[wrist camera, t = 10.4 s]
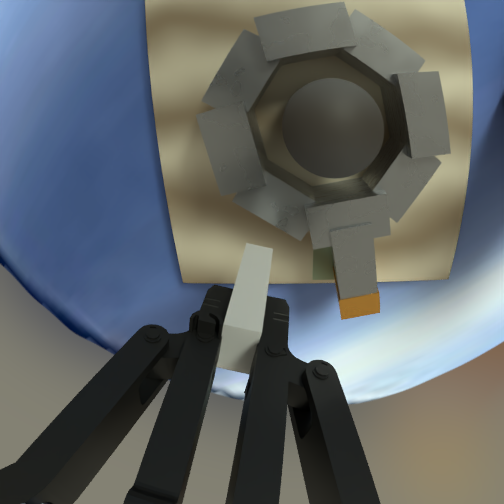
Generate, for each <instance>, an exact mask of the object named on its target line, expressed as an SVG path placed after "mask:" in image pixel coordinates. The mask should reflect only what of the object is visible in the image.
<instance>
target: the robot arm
mask: <svg viewBox="0 0 504 504" xmlns="http://www.w3.org/2000/svg"><path fill="white" fill-rule="evenodd" d="M272 253H273V249H272V248H267V247H262V246H258V245H253V244H249V243H246V246H245V250H244V253H243V257H242V260H241V264H240V267H239V271H238V274H237V278H236V281H235V285H234V288H233V289H231V288H226V287H222V286H218V285H213V286H212V287H211V288H210V289H209V290H208V291H207V293H206V296H205V299H204V301H203V304H202V306H201V309H200V311H197V312H195V313H193V314H192V316H191V317H190V324H189V331H187V332H184V333H179V334H168V332H167V330H166V329H164V328H163V327H162V326H159V325H146V326H143V327H142V328H140V329H139V330H138V331H137V332H136V333H135V334H134V335H133V336H132V337H131V338H130V339H129V340H128V341H127V343H126V344H125V345H124V346H123V347H122V348H121V349H120V350H119V351H118V352H117V353H116V354H115V355H114V356H113V357H112V358H111V359H110V360H109V361H108V362H107V363H106V365H105V366H104V367H103V368H102V369H101V370H100V371H99V372H98V373H97V374H96V375H95V376H94V377H93V378H92V379H91V380H90V381H89V382H88V384H87V385H86V386H85V387H84V388H83V389H82V390H81V391H80V392H79V393H78V394H77V395H76V396H75V397H74V399H73V400H72V401H71V402H70V403H69V404H68V405H67V406H66V407H65V408H64V409H63V410H62V412H61V413H60V414H59V415H58V416H57V417H56V418H55V419H54V420H53V421H52V423H50V425H49V426H48V427H47V428H46V429H45V430H44V431H43V432H42V433H41V435H40V436H39V437H38V438H37V439H36V440H35V441H34V442H33V443H32V445H31V446H30V447H29V448H28V449H27V450H26V451H25V452H24V454H23V455H22V456H21V457H20V458H19V459H18V461H16V463H13V464H11V465H9V466H7V467H5V468H3V469H1V470H0V504H73V503H74V502H75V501H76V500H77V499H78V497H79V496H80V495H81V493H82V492H83V491H84V490H85V488H86V487H87V486H88V485H89V483H90V482H91V481H92V479H93V478H94V477H95V475H96V474H97V473H98V472H99V470H100V469H101V468H102V466H103V465H104V464H105V462H106V461H107V460H108V458H109V457H110V456H111V455H112V453H113V452H114V451H115V449H116V448H117V447H118V445H119V444H120V443H121V441H122V440H123V439H124V437H125V436H126V435H127V434H128V432H129V431H130V430H131V428H132V427H133V426H134V424H135V423H136V422H137V420H138V419H139V418H140V416H141V415H142V414H143V412H144V411H145V410H146V408H147V407H148V406H149V405H150V403H151V402H152V400H153V399H154V398H155V397H156V395H157V394H158V393H159V391H160V390H161V389H162V387H163V386H164V385H165V383H166V382H167V381H168V379H171V381H170V384H169V387H168V390H167V392H166V395H165V398H164V400H163V403H162V406H161V408H160V411H159V414H158V417H157V420H156V422H155V425H154V428H153V431H152V434H151V437H150V439H149V443H148V445H147V448H146V451H145V454H144V457H143V460H142V463H141V466H140V469H139V472H138V474H137V478H136V480H135V483H134V485H133V487H132V488H131V489H130V490H129V491H128V493H127V495H126V498H125V500H124V504H182V502H183V498H184V494H185V490H186V486H187V482H188V478H189V474H190V470H191V466H192V462H193V458H194V454H195V451H196V446H197V443H198V439H199V435H200V430H201V426H202V423H203V419H204V415H205V411H206V407H207V403H208V399H209V395H210V392H211V388H212V384H213V380H214V376H215V370H216V367H219V368H223V369H227V370H232V371H236V372H241V373H246V374H250V375H249V379H248V382H247V386H246V389H245V392H244V393H245V399H244V404H243V410H242V416H241V421H240V427H239V433H238V438H237V444H236V449H235V455H234V461H233V466H232V471H231V476H230V482H229V487H228V493H227V498H226V503H225V504H279V496H280V486H281V476H282V464H283V453H284V441H285V427H286V414H287V404H288V408H289V412H290V417H291V422H292V426H293V431H294V435H295V440H296V444H297V449H298V454H299V458H300V462H301V467H302V472H303V476H304V481H305V485H306V490H307V494H308V499H309V503H310V504H380V501H379V497H378V494H377V491H376V488H375V485H374V481H373V478H372V475H371V472H370V469H369V466H368V463H367V460H366V457H365V454H364V451H363V448H362V445H361V442H360V439H359V436H358V433H357V430H356V427H355V424H354V421H353V418H352V415H351V412H350V409H349V406H348V404H347V401H346V398H345V395H344V392H343V389H342V387H341V384H340V381H339V378H338V376H337V373H336V371H335V369H334V367H333V366H332V365H331V364H329V363H328V362H326V361H323V360H313V361H311V362H309V363H306V362H304V361H301V360H299V359H298V358H296V357H295V356H294V355H292V353H291V352H290V351H289V348H288V327H289V323H288V322H289V306H288V304H287V302H286V300H284V299H280V298H275V297H270V296H267V292H268V284H269V276H270V269H271V261H272Z"/></svg>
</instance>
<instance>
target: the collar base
mask: <svg viewBox="0 0 504 504" xmlns="http://www.w3.org/2000/svg"><path fill="white" fill-rule="evenodd" d="M337 2H344V3H345V6H346V9H347V12H348V15H349V16H350V15H351V14H352V12H353V11H354V10H355V9H356V10H358V11H359V12H361V13H362V14H364V15H365V16H367V17H368V18H370V19H371V20H373V21H374V22H376V23H377V24H379V25H380V26H382V27H383V28H385V29H386V30H387V31H389V32H390V33H391V34H393V35H394V36H396V37H397V38H398V39H400V40H401V41H402V42H403V43H405V44H406V45H407V46H409V47H410V48H411V49H412V50H414V51H415V52H416V53H417V54H419V55H420V56H421V57H422V58H423V59H425V60H426V61H425V62H424V64H423V65H422V67H421V68H420V70H419V71H418V72H431V71H439V76H440V80H441V86H442V91H443V96H444V102H445V109H446V115H447V122H448V130H449V139H450V149H451V154H445V155H437V156H435V157H436V158H437V159H439V160H440V161H441V162H442V163H441V165H440V166H439V167H438V169H437V170H436V172H435V173H434V174H433V176H432V177H431V179H430V180H429V181H428V183H427V184H426V186H425V187H424V188H423V190H422V191H421V192H420V194H419V195H418V197H417V198H416V199H415V201H414V202H413V203H412V205H411V206H410V207H409V209H408V210H407V211H406V212H405V214H404V215H403V216H402V218H401V219H400V220H399V222H398V223H397V222H395V221H394V220H393V219H391V218H390V229H391V235H389V236H383V237H378V238H374V248H375V260H376V274H377V282H391V281H419V280H442V279H448V278H449V275H450V271H451V267H452V263H453V259H454V255H455V250H456V246H457V241H458V236H459V232H460V226H461V221H462V216H463V210H464V204H465V197H466V190H467V183H468V174H469V165H470V154H471V141H472V119H473V82H472V61H471V48H470V38H469V29H468V22H467V15H466V9H465V3H464V0H145V13H146V31H147V45H148V58H149V70H150V80H151V90H152V99H153V108H154V116H155V124H156V132H157V139H158V147H159V154H160V160H161V167H162V173H163V180H164V186H165V192H166V198H167V203H168V209H169V215H170V220H171V225H172V231H173V236H174V241H175V246H176V251H177V256H178V261H179V266H180V270H181V275H182V279H183V283H234V284H235V281H236V278H237V274H238V271H239V267H240V264H241V260H242V257H243V253H244V250H245V246H246V243H249V244H253V245H258V246H262V247H267V248H272V249H273V253H272V261H271V269H270V276H269V284H286V283H335V280H334V273H333V267H332V266H334V265H333V258H332V252H331V246H330V247H325V248H320V249H314V250H313V245H312V240H311V235H310V231H309V230H308V232H307V233H306V234H305V236H304V237H303V239H302V240H301V241H299V240H298V239H296V238H294V237H293V236H291V235H289V234H287V233H286V232H284V231H282V230H281V229H279V228H277V227H276V226H274V225H272V224H270V223H269V222H267V221H265V220H263V219H262V218H260V217H258V216H257V215H255V214H253V213H251V212H250V211H248V210H246V209H244V208H243V207H241V206H239V205H237V204H236V203H234V202H232V200H233V199H234V197H235V195H236V193H237V192H236V193H232V194H228V195H224V196H221V194H220V191H219V188H218V185H217V182H216V179H215V175H214V172H213V169H212V166H211V163H210V160H209V156H208V153H207V150H206V147H205V144H204V140H203V137H202V134H201V131H200V128H199V124H198V121H197V118H196V115H197V114H200V113H203V112H206V111H210V110H213V109H216V108H214V107H212V106H210V105H208V104H206V103H204V102H202V101H201V100H202V98H203V97H204V95H205V93H206V91H207V89H208V88H209V86H210V84H211V82H212V80H213V79H214V77H215V75H216V74H217V72H218V70H219V68H220V67H221V65H222V63H223V62H224V60H225V58H226V57H227V55H228V53H229V52H230V50H231V48H232V47H233V45H234V44H235V42H236V40H237V39H238V37H239V36H240V34H241V32H242V31H243V29H245V30H247V31H249V32H252V33H254V34H256V35H258V36H259V34H258V31H257V28H256V24H255V21H254V17H258V16H262V15H267V14H271V13H276V12H280V11H285V10H290V9H296V8H302V7H308V6H314V5H321V4H329V3H337ZM254 111H255V115H256V118H257V122H258V125H259V129H260V133H261V136H262V140H263V143H264V147H265V151H266V155H267V158H268V160H270V161H271V162H273V163H275V164H276V165H278V166H280V167H281V168H283V169H285V170H286V171H288V172H290V173H291V174H293V175H294V176H296V177H298V178H299V179H301V180H303V181H304V182H306V183H307V184H309V185H311V186H317V185H322V184H327V183H333V182H338V181H343V180H349V179H354V178H360V177H362V176H363V174H364V173H365V172H366V170H367V169H368V167H369V166H370V164H371V163H372V162H373V160H374V159H375V158H376V156H377V155H378V153H379V152H380V150H381V149H382V147H383V146H384V144H385V143H386V142H387V140H388V139H389V137H390V136H389V130H388V124H387V119H386V113H385V108H384V103H383V99H382V94H381V89H380V86H379V85H377V84H376V83H374V82H373V81H372V80H370V79H369V78H368V77H366V76H365V75H363V74H362V73H360V72H359V71H357V70H356V69H355V68H353V67H352V66H350V65H349V64H347V63H345V62H344V61H342V60H341V59H339V58H338V57H336V56H329V57H323V58H317V59H311V60H306V61H301V62H296V63H291V64H286V65H282V66H281V67H280V69H279V70H278V72H277V73H276V75H275V77H274V78H273V80H272V81H271V83H270V85H269V86H268V88H267V89H266V91H265V93H264V94H263V96H262V97H261V99H260V101H259V102H258V104H257V106H256V107H255V109H254Z"/></svg>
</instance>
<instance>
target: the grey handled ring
mask: <svg viewBox="0 0 504 504" xmlns="http://www.w3.org/2000/svg"><path fill="white" fill-rule="evenodd" d="M254 21H255V24H256V28H257V31H258V34H259V36H258V35H256V34H254V33H252V32H249V31H247V30H245V29H243V31H242V32H241V34H240V36H239V37H238V39H237V40H236V42H235V44H234V45H233V47H232V48H231V50H230V52H229V53H228V55H227V57H226V58H225V60H224V62H223V63H222V65H221V67H220V68H219V70H218V72H217V74H216V75H215V77H214V79H213V80H212V82H211V84H210V86H209V88H208V89H207V91H206V93H205V95H204V97H203V98H202V100H201V101H202V102H204V103H206V104H208V105H210V106H212V107H214V108H216V109H213V110H210V111H206V112H203V113H200V114H197V115H196V118H197V121H198V124H199V128H200V131H201V134H202V137H203V140H204V144H205V147H206V150H207V153H208V156H209V160H210V163H211V166H212V169H213V172H214V175H215V179H216V182H217V185H218V188H219V191H220V194H221V196H224V195H228V194H232V193H236V192H237V193H236V195H235V197H234V199H233V200H232V202H234V203H236V204H237V205H239V206H241V207H243V208H244V209H246V210H248V211H250V212H251V213H253V214H255V215H257V216H258V217H260V218H262V219H263V220H265V221H267V222H269V223H270V224H272V225H274V226H276V227H277V228H279V229H281V230H282V231H284V232H286V233H287V234H289V235H291V236H293V237H294V238H296V239H298V240H299V241H301V240H302V239H303V237H304V236H305V234H306V233H307V232H308V230H309V231H310V235H311V240H312V245H313V250H314V249H320V248H325V247H330V246H331V252H332V258H333V265H334V266H332V267H333V273H334V280H335V286H336V291H337V297H338V302H339V308H340V314H341V320H343V319H348V318H354V317H359V316H364V315H370V314H375V313H380V297H379V291H378V288H377V274H376V260H375V248H374V238H378V237H383V236H389V235H391V229H390V218H391V219H393V220H394V221H395V222H397V223H398V222H399V220H400V219H401V218H402V216H403V215H404V214H405V212H406V211H407V210H408V209H409V207H410V206H411V205H412V203H413V202H414V201H415V199H416V198H417V197H418V195H419V194H420V192H421V191H422V190H423V188H424V187H425V186H426V184H427V183H428V181H429V180H430V179H431V177H432V176H433V174H434V173H435V172H436V170H437V169H438V167H439V166H440V165H441V163H442V162H441V161H440V160H439V159H437V158H436V157H435V156H437V155H445V154H451V149H450V139H449V130H448V122H447V115H446V109H445V102H444V96H443V91H442V86H441V80H440V76H439V71H431V72H418V71H419V70H420V68H421V67H422V65H423V64H424V62H425V61H426V60H425V59H423V58H422V57H421V56H420V55H419V54H417V53H416V52H415V51H414V50H412V49H411V48H410V47H409V46H407V45H406V44H405V43H403V42H402V41H401V40H400V39H398V38H397V37H396V36H394V35H393V34H391V33H390V32H389V31H387V30H386V29H385V28H383V27H382V26H380V25H379V24H377V23H376V22H374V21H373V20H371V19H370V18H368V17H367V16H365V15H364V14H362V13H361V12H359V11H358V10H356V9H355V10H354V11H353V12H352V14H351V15H350V16H349V15H348V12H347V9H346V6H345V3H344V2H337V3H329V4H321V5H314V6H308V7H302V8H296V9H290V10H285V11H280V12H276V13H271V14H267V15H262V16H258V17H254ZM329 56H336V57H338V58H339V59H341V60H342V61H344V62H345V63H347V64H349V65H350V66H352V67H353V68H355V69H356V70H357V71H359V72H360V73H362V74H363V75H365V76H366V77H368V78H369V79H370V80H372V81H373V82H374V83H376V84H377V85H379V86H380V89H381V94H382V99H383V103H384V108H385V113H386V119H387V124H388V130H389V136H390V137H389V139H388V140H387V142H386V143H385V144H384V146H383V147H382V149H381V150H380V152H379V153H378V155H377V156H376V158H375V159H374V160H373V162H372V163H371V164H370V166H369V167H368V169H367V170H366V172H365V173H364V174H363V176H362V177H360V178H354V179H349V180H343V181H338V182H333V183H327V184H322V185H317V186H311V185H309V184H307V183H306V182H304V181H303V180H301V179H299V178H298V177H296V176H294V175H293V174H291V173H290V172H288V171H286V170H285V169H283V168H281V167H280V166H278V165H276V164H275V163H273V162H271V161H270V160H268V158H267V155H266V151H265V147H264V143H263V140H262V136H261V133H260V129H259V125H258V122H257V118H256V115H255V111H254V109H255V107H256V106H257V104H258V102H259V101H260V99H261V97H262V96H263V94H264V93H265V91H266V89H267V88H268V86H269V85H270V83H271V81H272V80H273V78H274V77H275V75H276V73H277V72H278V70H279V69H280V67H281V66H282V65H286V64H291V63H296V62H301V61H306V60H311V59H317V58H323V57H329Z"/></svg>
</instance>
